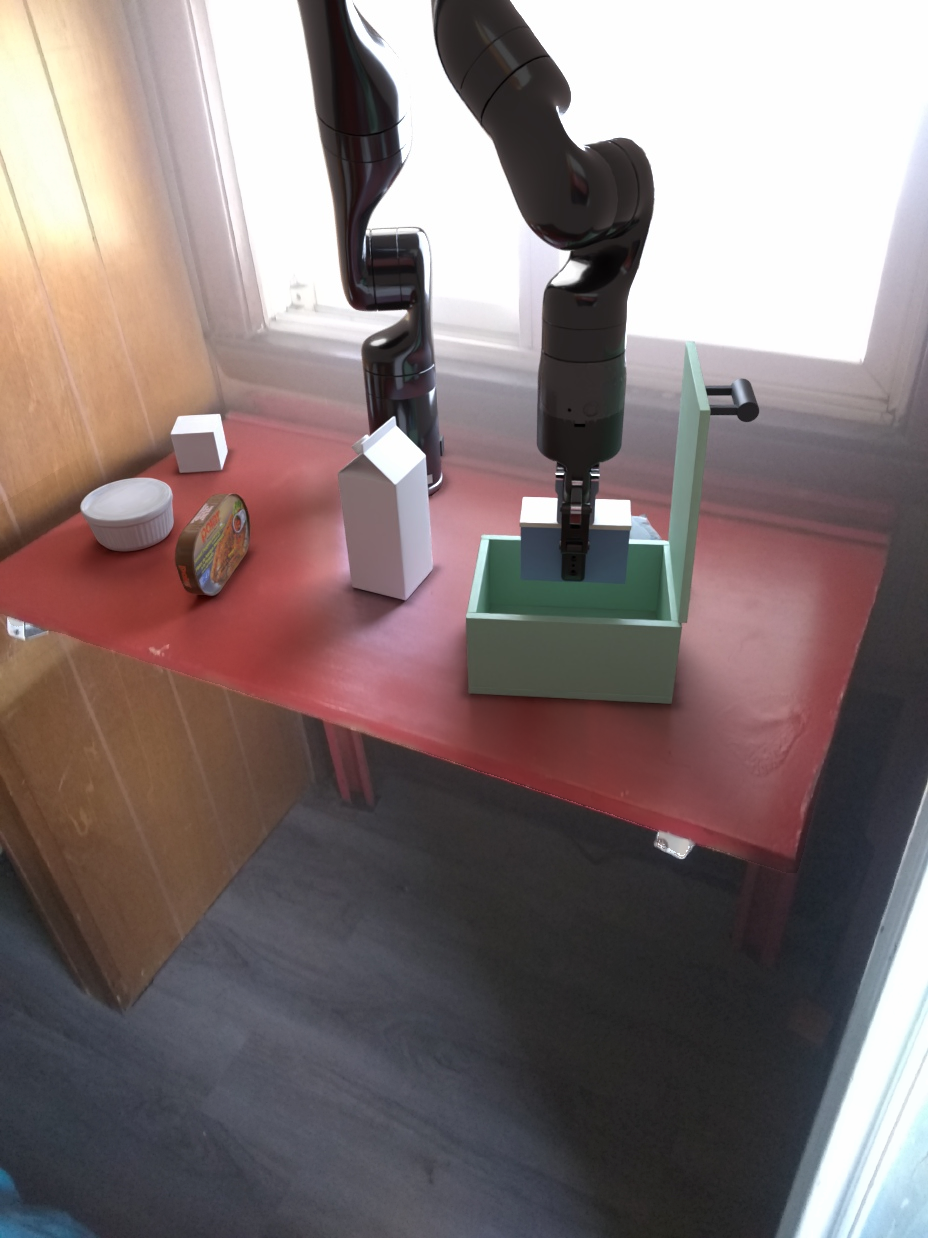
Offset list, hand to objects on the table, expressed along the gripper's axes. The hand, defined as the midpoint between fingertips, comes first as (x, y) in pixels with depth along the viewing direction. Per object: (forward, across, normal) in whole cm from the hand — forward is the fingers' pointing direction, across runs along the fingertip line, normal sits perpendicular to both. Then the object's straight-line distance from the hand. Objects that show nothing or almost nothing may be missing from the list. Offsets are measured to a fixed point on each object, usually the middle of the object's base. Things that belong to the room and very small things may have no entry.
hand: (573, 563), depth 89 cm
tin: (+11, -12, -42) cm, 45 cm away
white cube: (+11, -40, -54) cm, 68 cm away
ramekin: (+11, -20, -56) cm, 60 cm away
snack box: (+1, 0, 0) cm, 1 cm away
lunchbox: (+11, 0, 0) cm, 11 cm away
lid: (-9, 0, +9) cm, 13 cm away
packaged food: (+11, -17, +7) cm, 22 cm away
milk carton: (+11, -12, -21) cm, 27 cm away
